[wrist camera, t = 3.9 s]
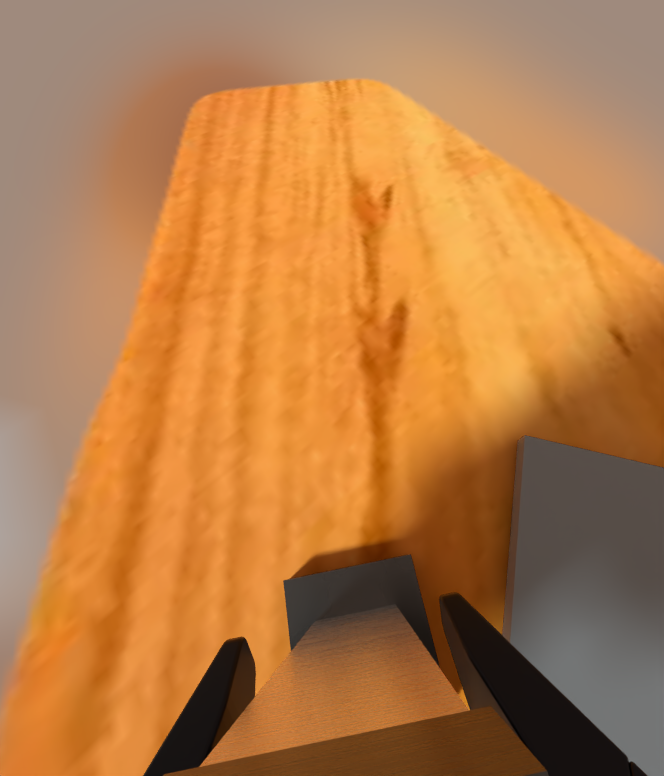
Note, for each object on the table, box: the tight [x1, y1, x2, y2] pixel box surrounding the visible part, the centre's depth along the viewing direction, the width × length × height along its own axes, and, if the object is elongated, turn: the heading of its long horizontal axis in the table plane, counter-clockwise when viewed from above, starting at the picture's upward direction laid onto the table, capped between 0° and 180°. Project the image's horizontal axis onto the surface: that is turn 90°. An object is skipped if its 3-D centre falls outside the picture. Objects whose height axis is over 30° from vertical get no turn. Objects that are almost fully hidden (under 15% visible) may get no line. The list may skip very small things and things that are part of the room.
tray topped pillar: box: [163, 554, 549, 776], centre depth 8 cm, size 5×5×13 cm
